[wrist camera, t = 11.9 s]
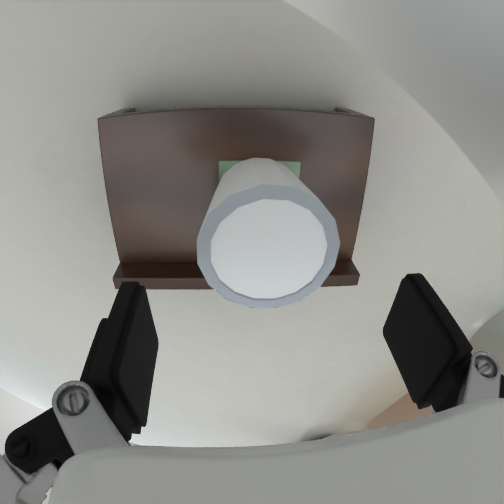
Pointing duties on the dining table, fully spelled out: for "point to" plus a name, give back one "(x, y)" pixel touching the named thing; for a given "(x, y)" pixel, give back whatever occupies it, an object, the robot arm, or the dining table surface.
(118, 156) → the shelf
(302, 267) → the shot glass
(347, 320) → the dining table surface
